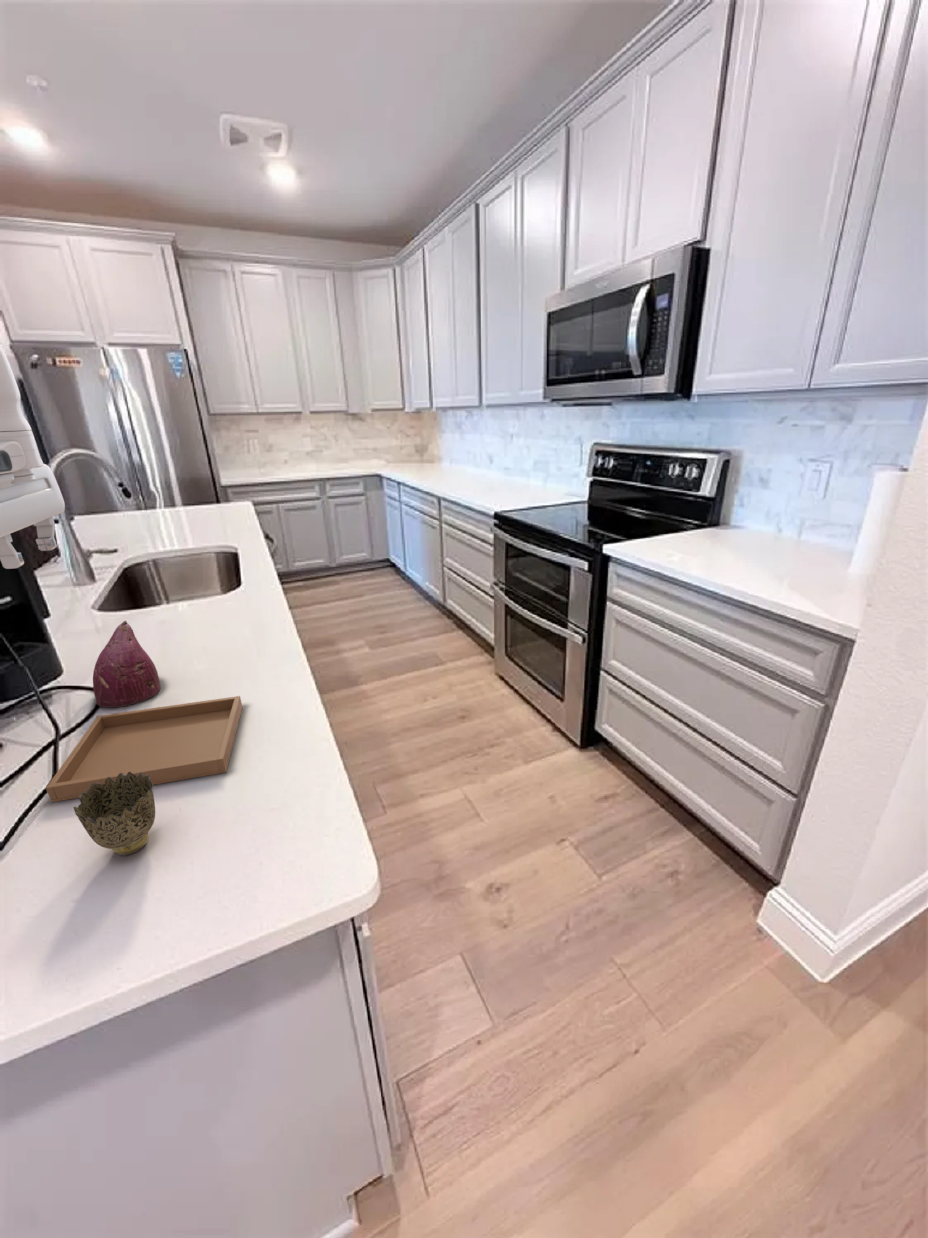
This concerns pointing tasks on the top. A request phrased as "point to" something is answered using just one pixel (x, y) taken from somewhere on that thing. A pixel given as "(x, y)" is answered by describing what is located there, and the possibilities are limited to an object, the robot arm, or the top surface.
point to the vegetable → (124, 671)
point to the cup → (118, 812)
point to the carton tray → (151, 746)
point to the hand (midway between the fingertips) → (32, 557)
